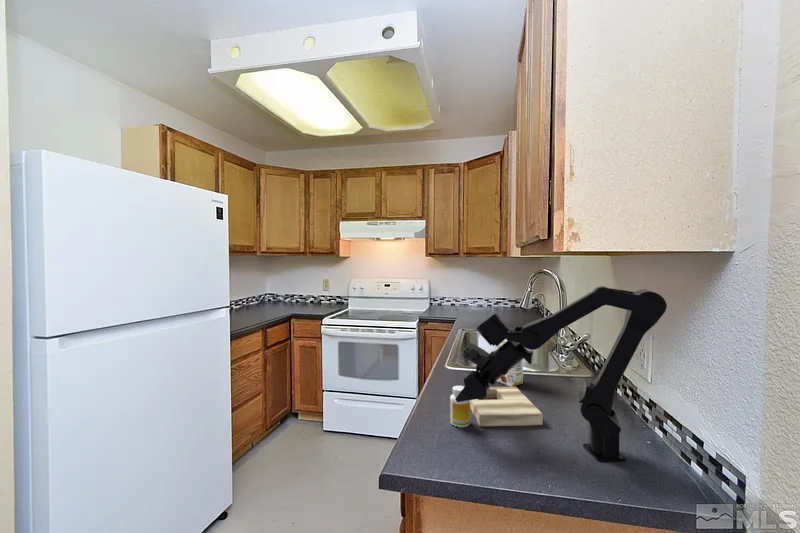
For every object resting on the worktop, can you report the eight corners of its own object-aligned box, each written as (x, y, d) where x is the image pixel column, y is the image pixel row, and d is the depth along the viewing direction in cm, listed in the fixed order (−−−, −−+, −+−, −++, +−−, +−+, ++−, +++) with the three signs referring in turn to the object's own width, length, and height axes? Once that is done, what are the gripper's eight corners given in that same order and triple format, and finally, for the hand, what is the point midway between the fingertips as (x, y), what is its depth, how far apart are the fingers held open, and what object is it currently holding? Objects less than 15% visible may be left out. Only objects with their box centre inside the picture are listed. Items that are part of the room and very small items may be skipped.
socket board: (542, 424, 93) (542, 413, 93) (480, 426, 93) (480, 415, 93) (515, 395, 113) (515, 386, 113) (464, 396, 113) (464, 387, 113)
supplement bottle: (474, 425, 93) (473, 390, 93) (456, 429, 91) (456, 393, 91) (463, 417, 98) (463, 383, 98) (446, 420, 96) (446, 386, 96)
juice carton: (512, 388, 120) (512, 333, 119) (492, 381, 127) (492, 329, 127) (525, 383, 124) (526, 331, 124) (506, 377, 131) (506, 327, 131)
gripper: (489, 328, 100) (452, 361, 105) (472, 342, 83) (429, 381, 88) (517, 359, 97) (477, 391, 102) (506, 380, 80) (459, 418, 85)
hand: (461, 394), depth 94 cm, fingers open, 9 cm apart
